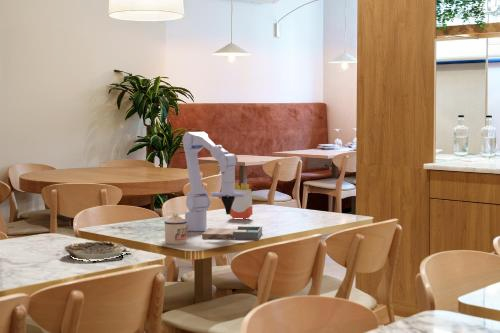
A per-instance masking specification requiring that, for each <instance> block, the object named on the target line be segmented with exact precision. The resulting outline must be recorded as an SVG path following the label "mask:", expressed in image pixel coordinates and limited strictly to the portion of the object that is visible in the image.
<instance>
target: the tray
mask: <svg viewBox="0 0 500 333" xmlns="http://www.w3.org/2000/svg"><path fill="white" fill-rule="evenodd" d="M237 229H238V230H247V231H248V230H257V232H233V239H232V240H259V239H260V238H261V236H262V234H263V226H244V225H243V226H239V225H238V226H237ZM234 238H235V239H234Z"/></svg>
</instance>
